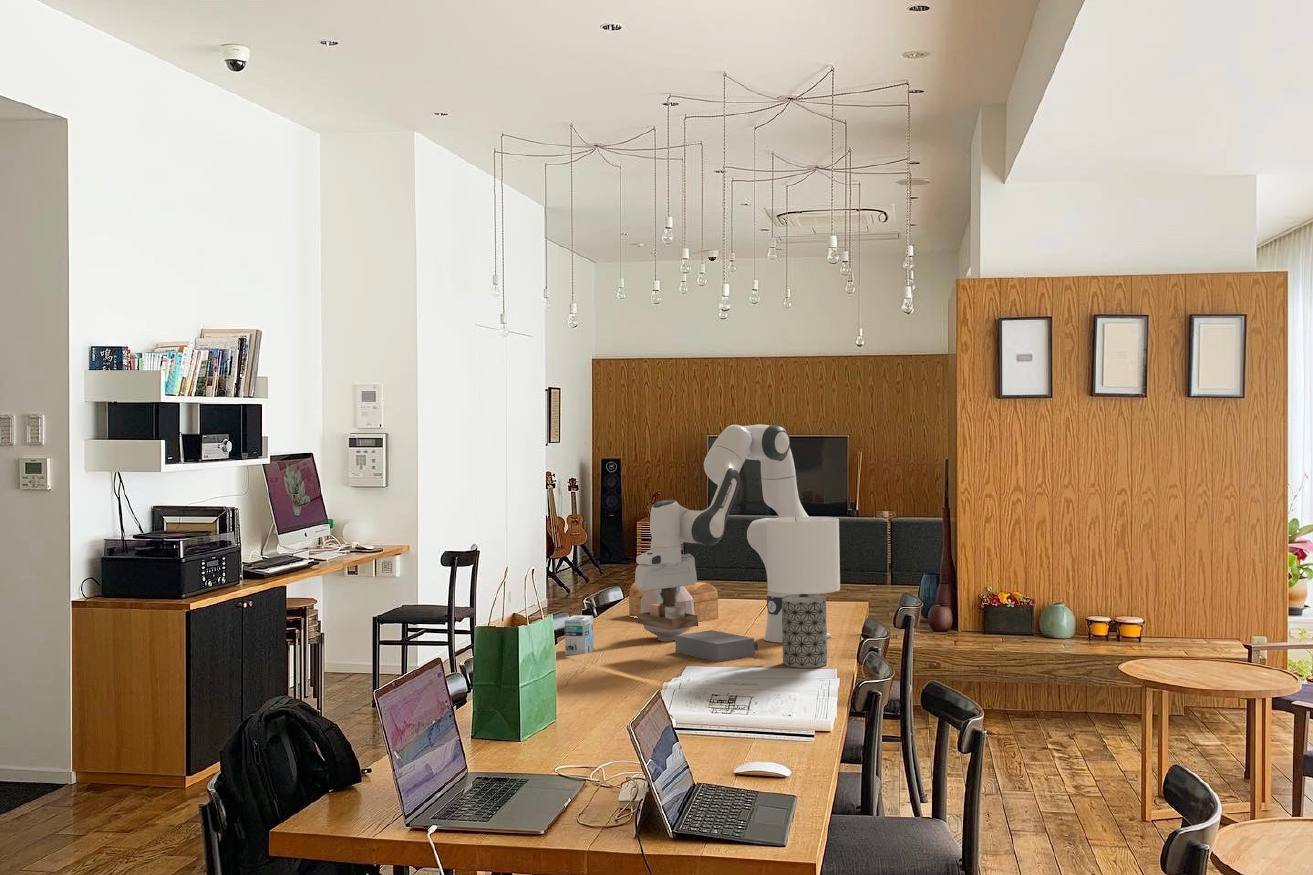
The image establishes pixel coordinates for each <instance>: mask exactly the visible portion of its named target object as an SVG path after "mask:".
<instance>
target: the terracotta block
mask: <svg viewBox="0 0 1313 875" xmlns="http://www.w3.org/2000/svg"><path fill="white" fill-rule="evenodd" d="M650 615H652V616H657V617H660V605H659V604H651V605H650Z"/></svg>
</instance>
